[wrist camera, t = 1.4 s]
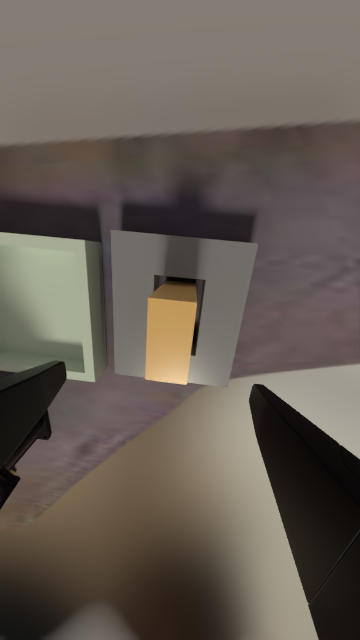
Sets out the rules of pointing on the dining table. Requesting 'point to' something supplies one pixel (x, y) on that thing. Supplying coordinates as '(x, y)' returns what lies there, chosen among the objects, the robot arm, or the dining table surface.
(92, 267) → the parts tray
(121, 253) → the grey slotted plate
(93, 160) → the dining table surface
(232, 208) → the dining table surface
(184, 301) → the tan rectangular block
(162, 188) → the dining table surface
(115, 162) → the dining table surface
